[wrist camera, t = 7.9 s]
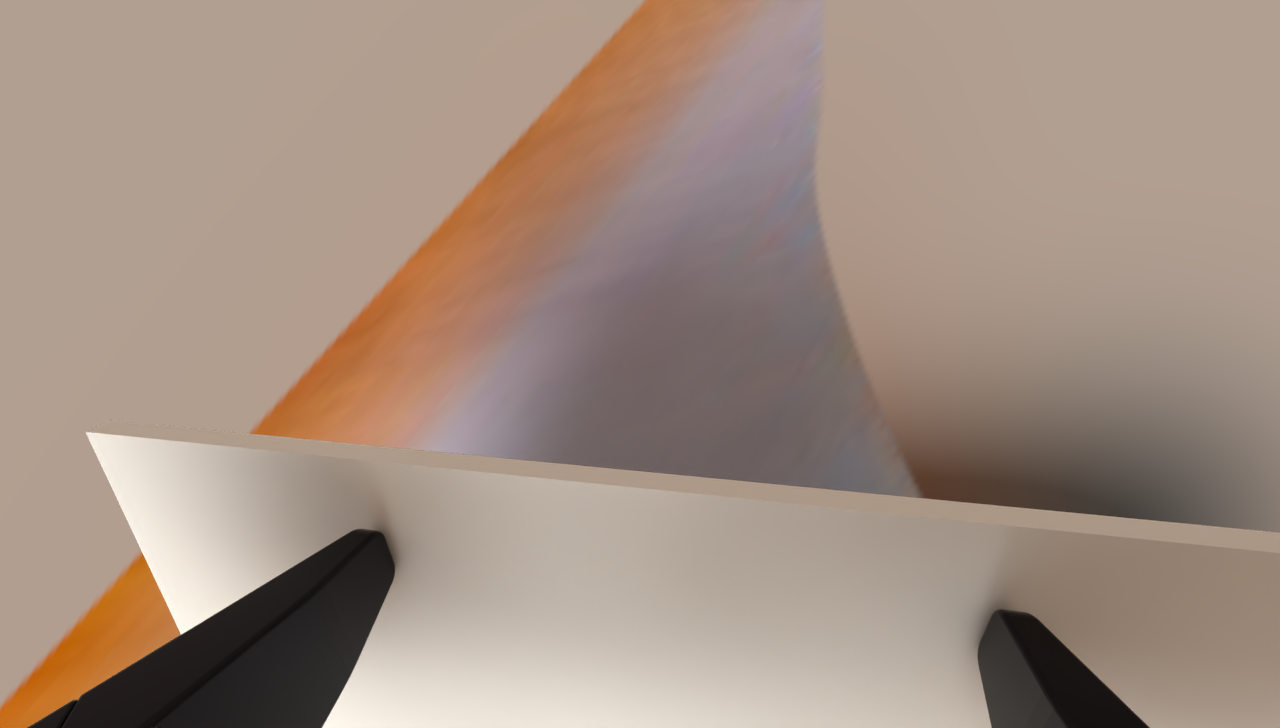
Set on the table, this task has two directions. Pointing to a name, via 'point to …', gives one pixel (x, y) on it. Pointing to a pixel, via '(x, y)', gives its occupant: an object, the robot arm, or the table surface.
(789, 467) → the table surface
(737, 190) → the table surface
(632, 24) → the table surface
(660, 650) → the box flap
